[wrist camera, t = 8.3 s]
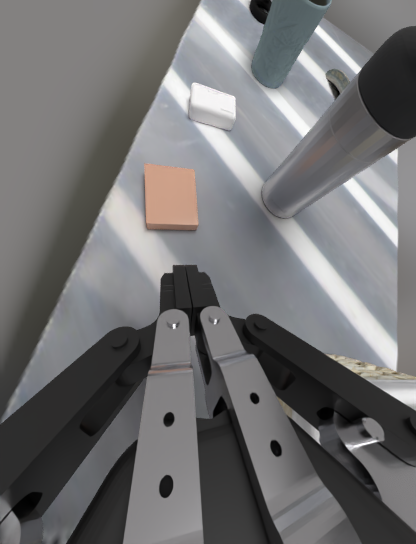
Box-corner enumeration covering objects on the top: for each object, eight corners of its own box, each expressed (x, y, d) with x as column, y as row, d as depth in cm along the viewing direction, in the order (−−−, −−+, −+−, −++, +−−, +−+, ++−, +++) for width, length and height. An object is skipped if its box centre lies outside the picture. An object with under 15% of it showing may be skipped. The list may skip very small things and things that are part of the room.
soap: (188, 120, 31) (190, 103, 29) (189, 98, 32) (191, 79, 30) (230, 133, 34) (236, 118, 31) (231, 112, 35) (236, 95, 32)
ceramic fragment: (323, 75, 45) (337, 56, 41) (336, 77, 46) (351, 59, 43) (338, 120, 44) (354, 104, 40) (351, 120, 45) (368, 105, 42)
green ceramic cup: (265, 51, 40) (304, -49, 28) (292, 83, 41) (342, -2, 29) (240, 64, 37) (273, -40, 26) (270, 98, 38) (315, 11, 26)
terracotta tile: (198, 225, 26) (194, 169, 27) (146, 223, 24) (144, 163, 25) (195, 231, 28) (192, 180, 30) (148, 230, 26) (146, 175, 28)
